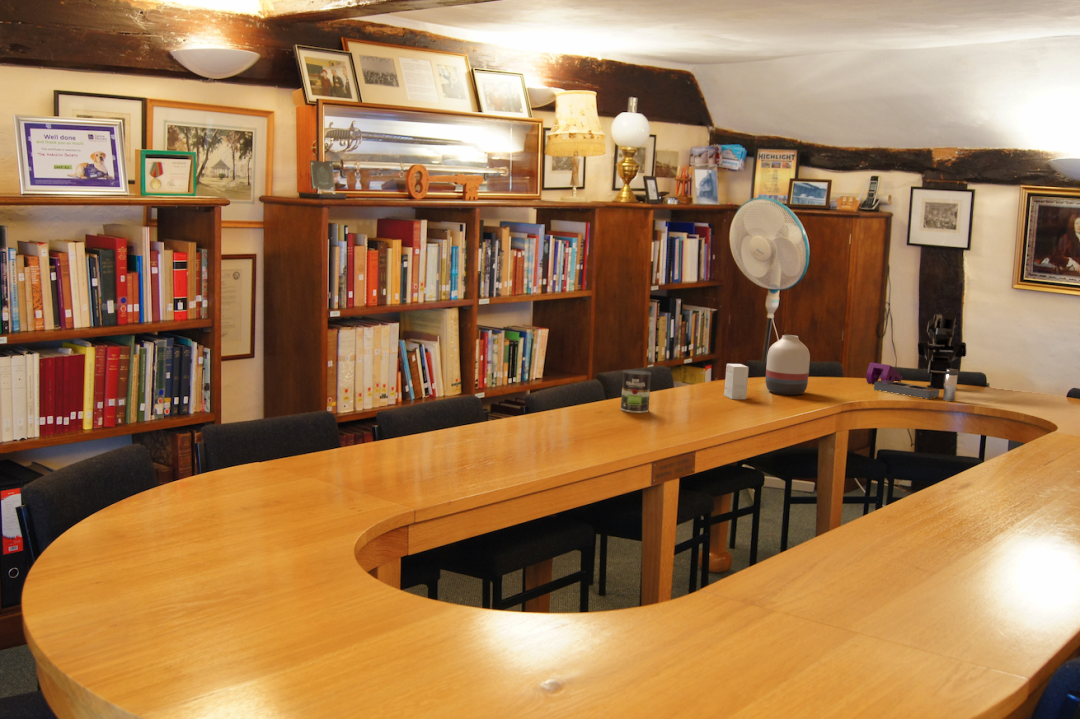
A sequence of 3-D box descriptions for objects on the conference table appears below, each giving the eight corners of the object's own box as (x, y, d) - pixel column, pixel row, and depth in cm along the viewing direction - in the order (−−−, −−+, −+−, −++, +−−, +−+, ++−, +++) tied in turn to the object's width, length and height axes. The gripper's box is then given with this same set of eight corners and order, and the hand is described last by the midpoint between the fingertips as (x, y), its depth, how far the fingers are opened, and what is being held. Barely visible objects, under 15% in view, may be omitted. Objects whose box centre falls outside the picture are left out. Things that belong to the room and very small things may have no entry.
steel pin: (945, 399, 394) (949, 368, 392) (956, 401, 390) (960, 369, 388) (940, 400, 391) (944, 369, 389) (951, 402, 387) (955, 370, 385)
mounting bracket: (880, 393, 436) (864, 379, 423) (885, 376, 437) (869, 362, 425) (899, 396, 429) (884, 383, 416) (905, 379, 430) (890, 365, 418)
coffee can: (648, 414, 339) (650, 375, 337) (619, 411, 341) (621, 373, 338) (650, 408, 349) (652, 370, 347) (622, 406, 351) (624, 368, 348)
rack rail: (884, 387, 415) (885, 379, 414) (938, 397, 397) (939, 388, 397) (873, 390, 408) (874, 381, 408) (928, 399, 391) (929, 390, 390)
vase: (789, 388, 404) (794, 332, 400) (815, 396, 388) (820, 338, 385) (756, 389, 397) (760, 333, 394) (781, 397, 382) (786, 339, 378)
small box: (746, 399, 374) (749, 366, 372) (731, 399, 373) (733, 366, 371) (738, 395, 382) (741, 363, 380) (723, 395, 381) (726, 363, 379)
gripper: (920, 322, 408) (913, 344, 397) (967, 323, 398) (962, 345, 388) (921, 343, 414) (915, 365, 403) (968, 345, 404) (963, 367, 394)
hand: (938, 360), depth 397 cm, fingers open, 9 cm apart
